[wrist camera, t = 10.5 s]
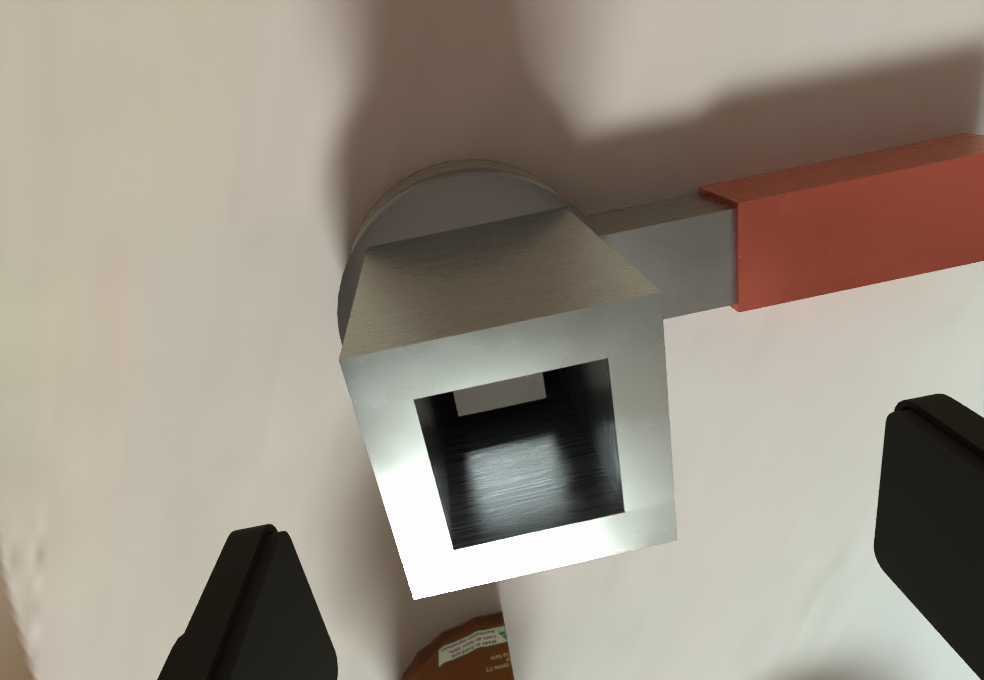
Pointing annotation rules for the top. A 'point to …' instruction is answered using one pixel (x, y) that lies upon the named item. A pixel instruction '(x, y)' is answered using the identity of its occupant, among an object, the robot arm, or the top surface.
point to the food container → (466, 653)
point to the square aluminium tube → (517, 428)
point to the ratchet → (723, 231)
